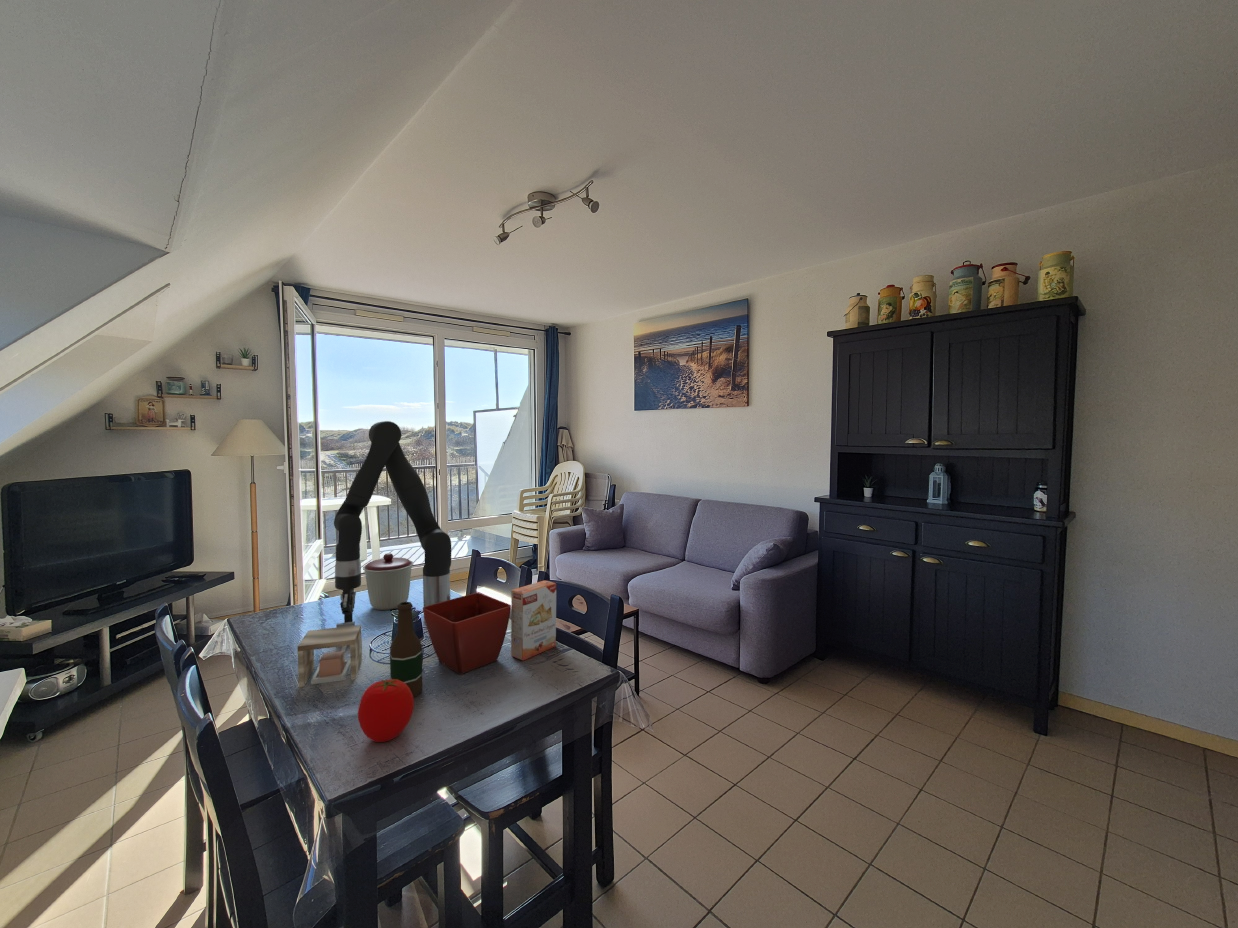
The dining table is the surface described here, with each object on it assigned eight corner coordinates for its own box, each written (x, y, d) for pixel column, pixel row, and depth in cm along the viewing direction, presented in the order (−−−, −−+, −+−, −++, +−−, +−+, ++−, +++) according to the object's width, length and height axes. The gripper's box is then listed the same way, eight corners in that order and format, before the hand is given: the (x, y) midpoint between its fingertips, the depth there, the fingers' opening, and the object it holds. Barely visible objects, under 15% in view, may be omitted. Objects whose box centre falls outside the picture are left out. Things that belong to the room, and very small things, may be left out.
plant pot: (422, 661, 148) (421, 606, 147) (478, 642, 162) (478, 591, 161) (454, 683, 135) (453, 623, 134) (513, 660, 149) (512, 605, 148)
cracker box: (523, 662, 148) (523, 593, 147) (510, 656, 152) (509, 589, 151) (557, 646, 159) (557, 582, 158) (544, 641, 163) (544, 578, 162)
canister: (417, 608, 193) (416, 555, 192) (365, 617, 184) (363, 561, 183) (410, 595, 209) (409, 546, 207) (362, 602, 200) (361, 551, 198)
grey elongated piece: (332, 647, 157) (331, 624, 156) (360, 643, 159) (360, 620, 159) (311, 687, 132) (310, 660, 131) (345, 682, 134) (344, 655, 134)
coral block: (344, 667, 141) (343, 650, 141) (340, 675, 136) (340, 658, 136) (324, 670, 139) (323, 653, 139) (319, 678, 134) (319, 660, 134)
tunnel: (309, 673, 141) (308, 630, 140) (362, 666, 145) (361, 624, 144) (299, 692, 130) (297, 646, 130) (356, 683, 135) (354, 639, 134)
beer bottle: (402, 703, 125) (400, 610, 124) (384, 695, 129) (381, 604, 128) (429, 690, 132) (427, 601, 130) (410, 682, 136) (408, 596, 134)
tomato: (347, 745, 108) (345, 688, 108) (386, 718, 118) (385, 666, 118) (386, 757, 104) (385, 698, 104) (423, 728, 114) (422, 674, 114)
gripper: (357, 577, 158) (357, 630, 159) (363, 566, 171) (364, 616, 172) (330, 578, 156) (331, 633, 157) (339, 568, 168) (339, 618, 169)
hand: (348, 624), depth 164 cm, fingers closed
